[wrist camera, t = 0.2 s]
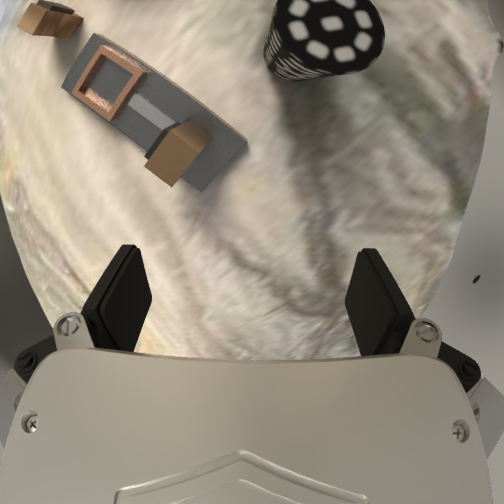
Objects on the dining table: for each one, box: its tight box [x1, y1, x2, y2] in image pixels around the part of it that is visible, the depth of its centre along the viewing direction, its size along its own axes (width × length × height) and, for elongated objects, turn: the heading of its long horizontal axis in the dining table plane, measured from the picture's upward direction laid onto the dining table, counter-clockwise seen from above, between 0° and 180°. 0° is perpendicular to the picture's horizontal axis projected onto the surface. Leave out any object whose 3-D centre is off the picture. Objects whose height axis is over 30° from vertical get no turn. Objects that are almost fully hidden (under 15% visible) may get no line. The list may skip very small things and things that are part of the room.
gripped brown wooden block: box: [17, 0, 83, 38], centre depth 20 cm, size 5×5×10 cm
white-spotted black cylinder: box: [264, 0, 385, 81], centre depth 22 cm, size 8×8×20 cm
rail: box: [61, 33, 247, 192], centre depth 29 cm, size 10×30×12 cm, turn 48°
